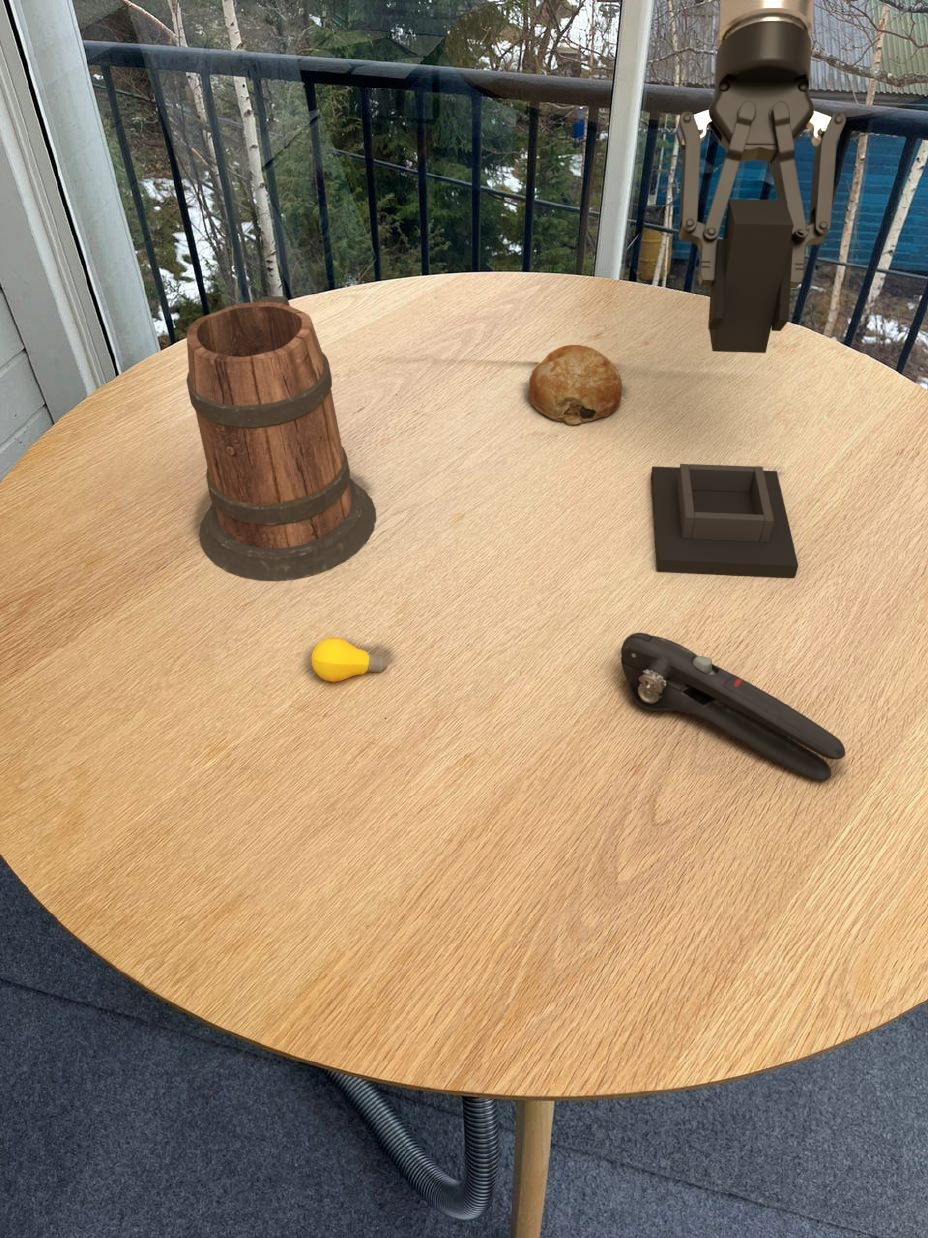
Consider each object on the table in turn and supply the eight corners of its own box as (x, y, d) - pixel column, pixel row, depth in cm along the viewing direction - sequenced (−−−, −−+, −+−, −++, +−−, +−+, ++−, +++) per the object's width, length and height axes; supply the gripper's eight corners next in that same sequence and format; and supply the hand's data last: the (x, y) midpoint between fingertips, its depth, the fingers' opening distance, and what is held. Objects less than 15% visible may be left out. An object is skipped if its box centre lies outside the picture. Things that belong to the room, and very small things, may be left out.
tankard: (370, 578, 84) (344, 378, 70) (182, 583, 84) (119, 384, 70) (384, 431, 101) (366, 246, 87) (227, 435, 101) (183, 252, 87)
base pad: (773, 483, 92) (782, 448, 90) (795, 578, 82) (805, 543, 80) (650, 478, 93) (655, 444, 91) (656, 572, 83) (662, 537, 81)
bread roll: (535, 450, 104) (546, 409, 96) (515, 372, 107) (524, 327, 99) (621, 437, 105) (638, 396, 97) (599, 361, 108) (614, 315, 101)
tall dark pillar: (759, 325, 84) (785, 199, 76) (765, 353, 81) (793, 224, 73) (708, 323, 85) (729, 198, 77) (712, 351, 81) (734, 223, 73)
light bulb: (307, 666, 76) (313, 627, 75) (380, 673, 78) (387, 635, 76) (309, 687, 73) (315, 647, 72) (384, 694, 75) (392, 655, 73)
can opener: (597, 695, 73) (602, 645, 70) (645, 644, 77) (653, 594, 73) (809, 816, 65) (830, 768, 61) (852, 753, 69) (873, 704, 65)
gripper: (661, 14, 75) (644, 306, 75) (889, 14, 73) (872, 312, 73) (652, 70, 82) (636, 335, 82) (858, 70, 81) (843, 341, 81)
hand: (747, 324), depth 78 cm, fingers closed on tall dark pillar, 4 cm apart
